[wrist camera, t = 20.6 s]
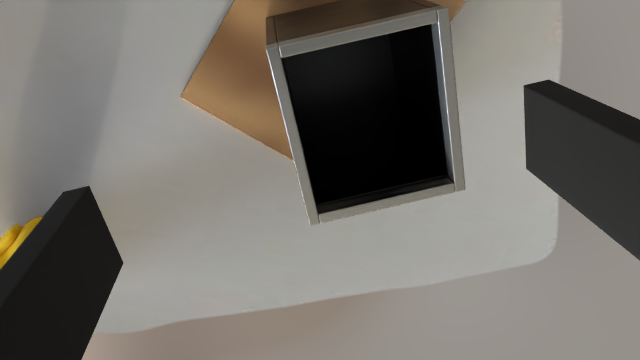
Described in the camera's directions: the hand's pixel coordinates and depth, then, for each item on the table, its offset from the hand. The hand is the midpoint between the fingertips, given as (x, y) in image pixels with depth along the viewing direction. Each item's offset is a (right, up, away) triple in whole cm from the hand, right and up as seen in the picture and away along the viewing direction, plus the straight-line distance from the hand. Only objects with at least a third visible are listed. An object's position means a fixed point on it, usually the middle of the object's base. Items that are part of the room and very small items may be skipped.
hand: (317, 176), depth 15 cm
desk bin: (+3, +1, +19) cm, 19 cm away
